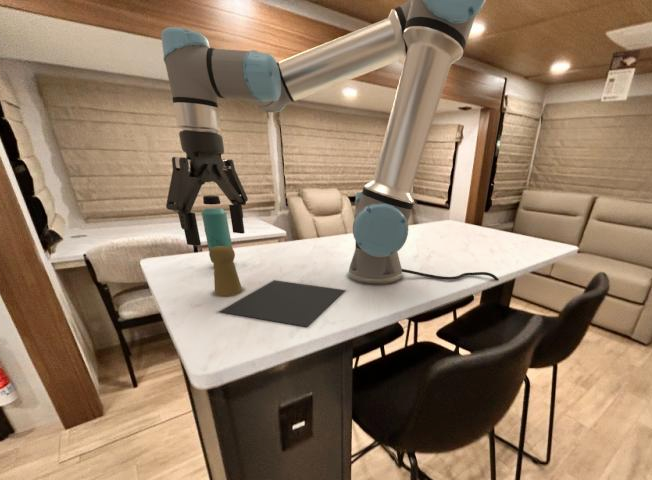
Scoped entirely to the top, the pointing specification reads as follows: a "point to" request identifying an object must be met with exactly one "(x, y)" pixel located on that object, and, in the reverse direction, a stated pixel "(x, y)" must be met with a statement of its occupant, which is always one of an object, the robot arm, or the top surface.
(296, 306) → the felt mat
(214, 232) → the beverage bottle
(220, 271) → the cork
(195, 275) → the top surface
